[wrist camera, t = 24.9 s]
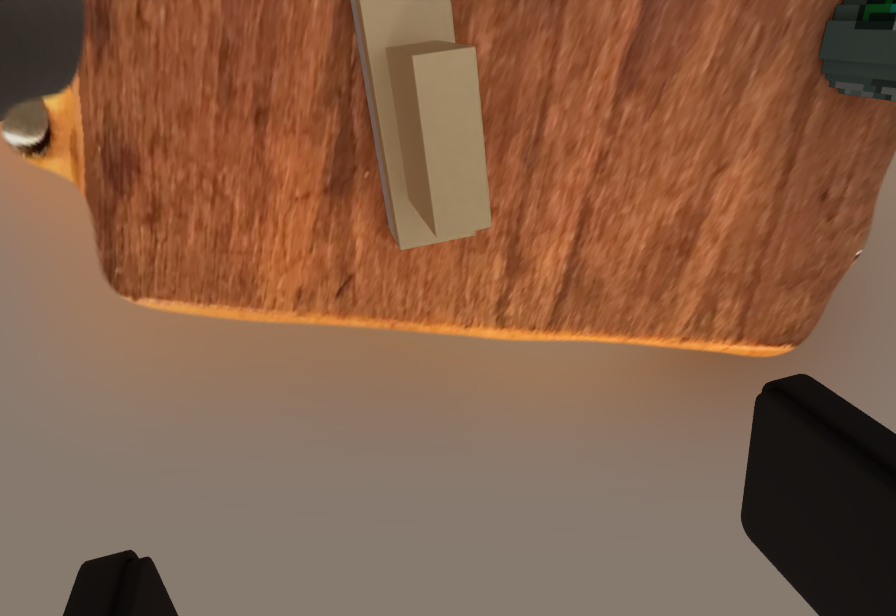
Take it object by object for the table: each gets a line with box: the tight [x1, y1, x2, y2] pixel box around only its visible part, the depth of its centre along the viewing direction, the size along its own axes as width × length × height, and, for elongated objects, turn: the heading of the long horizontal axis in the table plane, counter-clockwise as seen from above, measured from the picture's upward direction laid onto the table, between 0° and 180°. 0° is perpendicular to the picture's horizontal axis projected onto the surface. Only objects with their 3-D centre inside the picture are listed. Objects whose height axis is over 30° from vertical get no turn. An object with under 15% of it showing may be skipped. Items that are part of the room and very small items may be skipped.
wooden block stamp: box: [350, 0, 492, 250], centre depth 28 cm, size 4×12×10 cm, turn 7°
